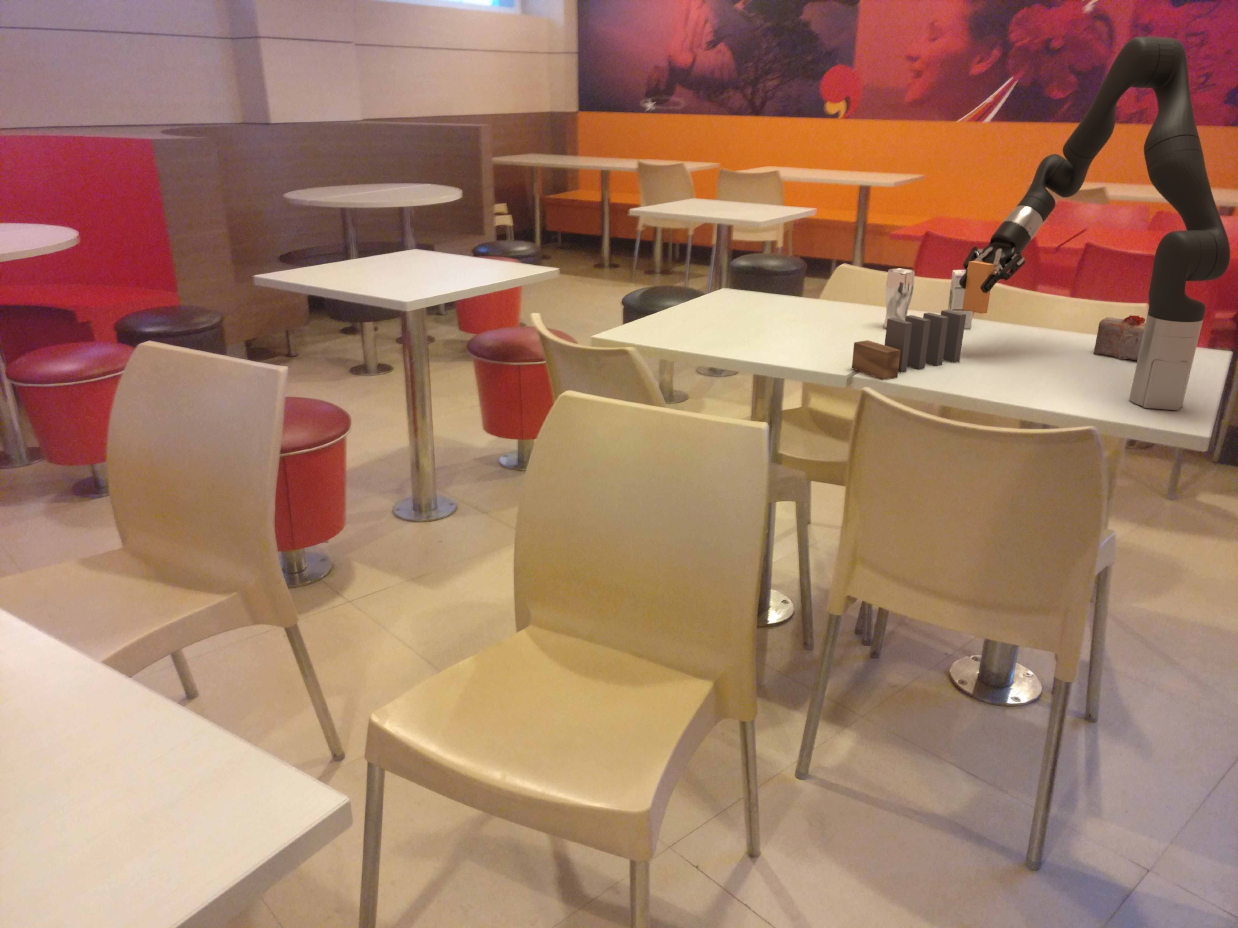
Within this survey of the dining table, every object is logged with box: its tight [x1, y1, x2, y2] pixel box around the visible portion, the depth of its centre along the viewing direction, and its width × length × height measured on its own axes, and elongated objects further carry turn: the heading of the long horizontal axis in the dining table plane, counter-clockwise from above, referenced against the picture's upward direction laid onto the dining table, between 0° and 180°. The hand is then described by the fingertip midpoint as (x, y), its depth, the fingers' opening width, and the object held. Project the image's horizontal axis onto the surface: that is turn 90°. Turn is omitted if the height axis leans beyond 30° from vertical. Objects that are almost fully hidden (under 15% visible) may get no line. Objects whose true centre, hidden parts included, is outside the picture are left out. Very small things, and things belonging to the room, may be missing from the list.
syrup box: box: [947, 269, 974, 330], centre depth 235 cm, size 6×6×14 cm
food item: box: [1093, 314, 1146, 362], centre depth 208 cm, size 14×8×10 cm, turn 46°
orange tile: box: [962, 261, 994, 315], centre depth 205 cm, size 2×6×11 cm, turn 28°
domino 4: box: [940, 309, 966, 364], centre depth 206 cm, size 2×6×11 cm, turn 28°
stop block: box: [851, 339, 901, 380], centre depth 197 cm, size 4×10×6 cm, turn 28°
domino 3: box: [922, 312, 949, 367], centre depth 203 cm, size 2×6×11 cm, turn 29°
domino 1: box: [884, 318, 912, 374], centre depth 199 cm, size 2×6×11 cm, turn 29°
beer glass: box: [882, 268, 915, 330], centre depth 234 cm, size 7×7×15 cm
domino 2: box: [905, 314, 931, 370], centre depth 201 cm, size 2×6×11 cm, turn 28°
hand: (972, 288), depth 204 cm, fingers closed on orange tile, 5 cm apart
